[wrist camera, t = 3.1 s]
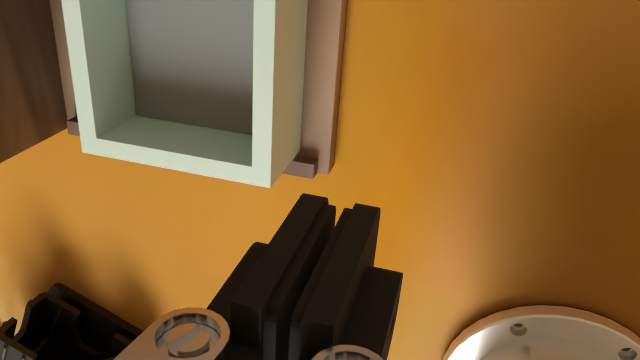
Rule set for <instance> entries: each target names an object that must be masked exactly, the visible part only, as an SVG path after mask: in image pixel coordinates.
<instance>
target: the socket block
mask: <svg viewBox="0 0 640 360" xmlns="http://www.w3.org/2000/svg"><path fill="white" fill-rule="evenodd" d="M61 2H62V9H63V16H64V23H65V31H66V38H67V45H68V52H69V59H70V67H71V74H72V81H73V88H74V95H75V103H76V110H77V117H78V124H79V131H80V139H81V146H82V152H84V153H89V154H94V155H99V156H105V157H110V158H115V159H120V160H126V161H131V162H136V163H141V164H147V165H152V166H157V167H162V168H168V169H173V170H178V171H183V172H189V173H194V174H199V175H204V176H209V177H215V178H220V179H225V180H230V181H236V182H241V183H246V184H251V185H257V186H262V187H267V188H271V187H272V185H273V184H274V183H275V182H276V180H277V179H278V178H279V177H280V175H281V174H282V173H283V172H284V170H285V169H286V168H287V167H288V165H289V164H290V163H291V161H292V160H293V159H294V158H295V156H296V155H297V154H298V153H299V151H300V141H301V122H302V102H303V83H304V64H305V45H306V26H307V7H308V0H61Z"/></svg>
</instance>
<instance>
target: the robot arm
mask: <svg viewBox="0 0 640 360" xmlns="http://www.w3.org/2000/svg"><path fill="white" fill-rule="evenodd" d="M335 216H336V207H335V206H333V205H328V198H326V197H320V196H315V195H310V194H305V193H303V194H302V195H301V196H300V198H299V199H298V201H297V202H296V204H295V205H294V207H293V208H292V210H291V211H290V213H289V214H288V216H287V217H286V219H285V220H284V222H283V223H282V225H281V226H280V228H279V229H278V231H277V232H276V234H275V235H274V237H273V238H272V240H271V241H270V243H269V244H264V243H260V242H255V243H254V244H253V245H252V246H251V247H250V248H249V250H248V251H247V253H246V254H245V255H244V257H243V258H242V260H241V261H240V262H239V264H238V265H237V267H236V268H235V269H234V271H233V272H232V274H231V275H230V276H229V278H228V279H227V281H226V282H225V283H224V285H223V286H222V288H221V289H220V290H219V292H218V293H217V295H216V296H215V297H214V299H213V300H212V302H211V303H210V305H209V306H208V307H207V309H204V308H183V309H177V310H174V311H171V312H169V313H167V314H164V315H163V316H161V317H160V318H158V319H157V320H156V321H154V322H153V323H152V324H151V325H150V326H149V327H148V328H147V329H146V330H145V331H143V332H142V333H141V334H140V335H139V336H138V337H137V338H136V339H135V340H134V341H133V342H132V343H131V344H130V345H128V346H127V347H126V348H125V349H124V350H123V351H122V352H121V353H120V354H119V355H118V356H115V357H111V358H108V359H105V360H387V356H388V352H389V348H390V344H391V339H392V335H393V330H394V325H395V320H396V315H397V309H398V303H399V297H400V291H401V285H402V278H403V273H401V272H396V271H391V270H387V269H382V268H377V267H373V266H374V259H375V251H376V243H377V235H378V228H379V220H380V208H378V207H373V206H368V205H363V204H357V203H355V205H354V207H353V209H349V208H344V210H343V212H342V214H341V216H340V218H339V220H338V222H337V224H336V226H335ZM334 227H335V228H334ZM443 360H640V338H639V337H638V336H637V335H636V334H634V333H633V332H632V331H630V330H629V329H627V328H625V327H623V326H621V325H620V324H618V323H616V322H614V321H613V320H610V319H608V318H605V317H602V316H600V315H597V314H594V313H592V312H589V311H584V310H579V309H575V308H570V307H564V306H548V305H537V306H524V307H517V308H512V309H508V310H504V311H500V312H497V313H494V314H492V315H489V316H487V317H485V318H482V319H480V320H478V321H477V322H475V323H474V324H472V325H471V326H469V327H468V328H466V329H465V330H463V331H462V332H461V333H460V334H459V335H458V337H457V338H456V339H455V340H454V341H453V342H452V343H451V345H450V346H449V348H448V350H447V351H446V353H445V355H444V357H443Z"/></svg>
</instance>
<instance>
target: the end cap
mask: <svg viewBox="0 0 640 360" xmlns="http://www.w3.org/2000/svg"><path fill="white" fill-rule="evenodd" d="M16 324H17V320H16V319H15V318H13V317H12V318H11V319H10V320H8V321H5V322H3V323H2V326H1V327H0V360H105V359H108V358H111V357H115V356H118V355H119V354H120V353H121V352H122V351H123V350H124V349H125V348H126V347H127V346H128V345H130V344H131V343H132V342H133V341H134V340H135V339H136V338H137V337H138V336H139V335H140V334H141V333H142V332H143V331H142V330H140V329H138V328H136V327H135V326H133V325H131V324H130V323H128V322H126V321H125V320H123V319H121V318H119V317H118V316H116V315H114V314H113V313H111V312H109V311H107V310H106V309H104V308H102V307H101V306H99V305H97V304H95V303H94V302H92V301H90V300H89V299H87V298H85V297H84V296H82V295H80V294H78V293H77V292H75V291H73V290H72V289H70V288H68V287H66V286H65V285H63V284H60V283H56V284H55V285H53V286H52V287H51V288H50V289H49V292H48V293H41V294H39V295H38V296H37V297H35V298H34V299H33V300H29V301H28V303H27V305H26V309H25V313H24V317H23V321H22V325H21V328H20V330H19V332H18V333H17V334H16V335H15V336H14V333H15V329H16Z"/></svg>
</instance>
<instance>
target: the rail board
mask: <svg viewBox="0 0 640 360" xmlns="http://www.w3.org/2000/svg"><path fill="white" fill-rule="evenodd" d="M347 1H348V0H308V7H307V26H306V45H305V64H304V83H303V102H302V122H301V141H300V151H299V153H298V154H297V155H296V156H295V158H294V159H293V160H292V161H291V163H290V164H289V165H288V167H287V168H286V169H285V170H284V172H283V173H284V174H289V175H295V176H300V177H305V178H311V179H313V178H314V177H315V175H316V174H317V173H323V174H329V172H330V171H331V169H332V168H333V166H334V158H335V145H336V133H337V121H338V109H339V97H340V85H341V73H342V61H343V49H344V37H345V25H346V13H347ZM66 128H68V134H72V135H77V136H80V131H79V124H78V117H77V110H76V103H75V95H74V88H73V81H72V74H71V67H70V59H69V52H68V45H67V38H66V31H65V23H64V16H63V9H62V2H61V0H0V163H1V162H3V161H5V160H7V159H9V158H11V157H13V156H15V155H17V154H19V153H20V152H22V151H24V150H26V149H28V148H30V147H32V146H34V145H36V144H38V143H40V142H42V141H43V140H45V139H47V138H49V137H51V136H53V135H55V134H57V133H59V132H61V131H63V130H65V129H66Z"/></svg>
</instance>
